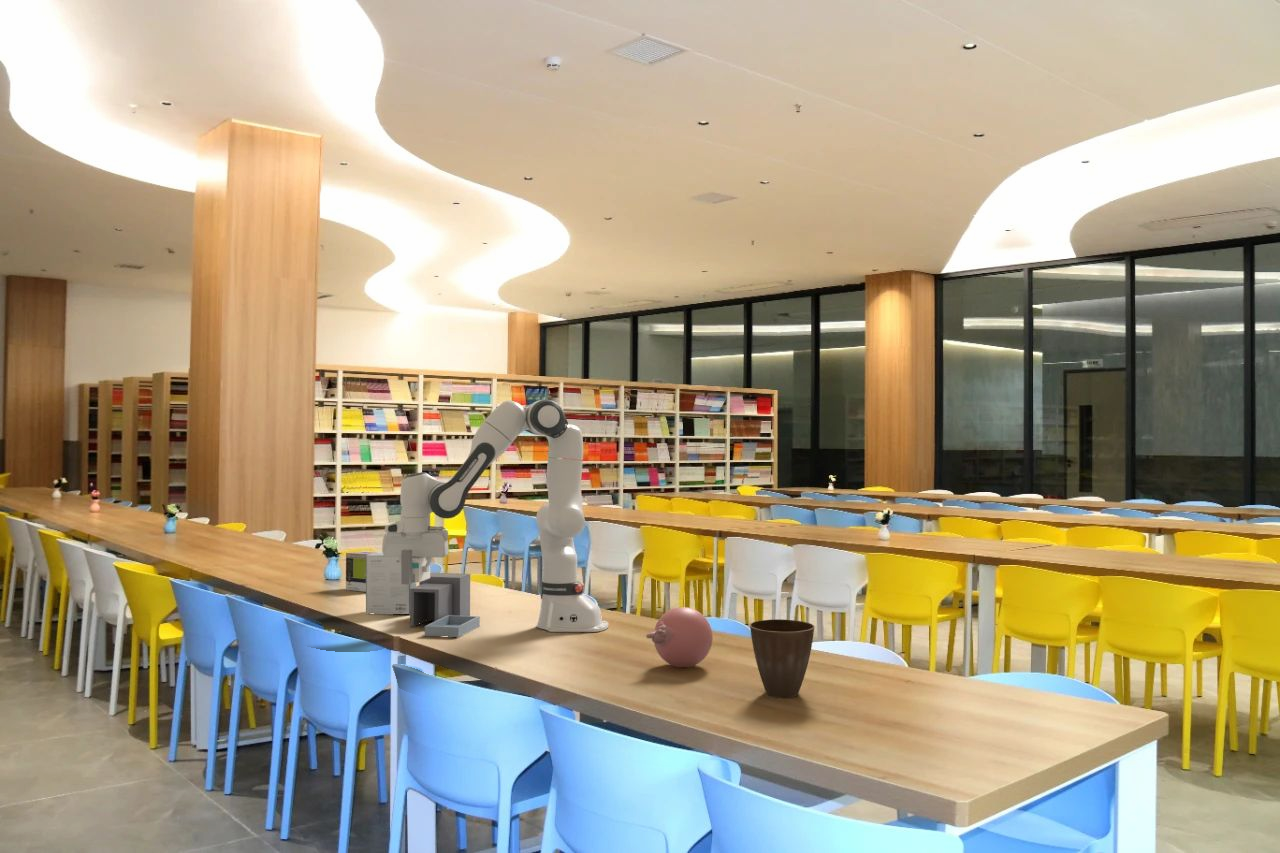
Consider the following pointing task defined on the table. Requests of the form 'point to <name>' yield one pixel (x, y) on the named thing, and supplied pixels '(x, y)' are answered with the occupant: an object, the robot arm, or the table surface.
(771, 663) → the plant pot
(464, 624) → the tray
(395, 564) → the hard drive box
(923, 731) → the table surface
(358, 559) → the tea box
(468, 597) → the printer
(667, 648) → the pink balloon
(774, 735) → the table surface
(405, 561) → the white box teal stripe
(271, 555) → the table surface
